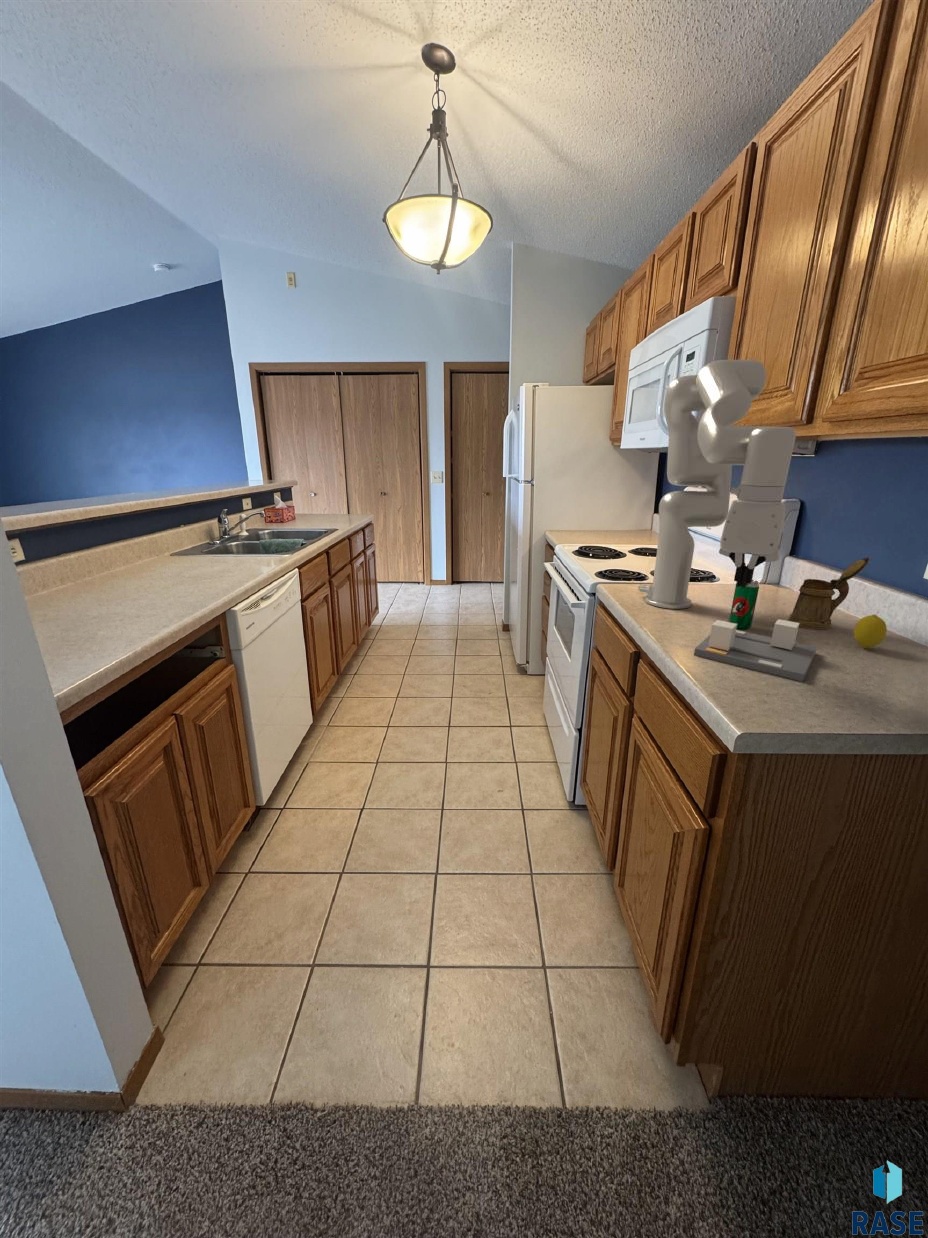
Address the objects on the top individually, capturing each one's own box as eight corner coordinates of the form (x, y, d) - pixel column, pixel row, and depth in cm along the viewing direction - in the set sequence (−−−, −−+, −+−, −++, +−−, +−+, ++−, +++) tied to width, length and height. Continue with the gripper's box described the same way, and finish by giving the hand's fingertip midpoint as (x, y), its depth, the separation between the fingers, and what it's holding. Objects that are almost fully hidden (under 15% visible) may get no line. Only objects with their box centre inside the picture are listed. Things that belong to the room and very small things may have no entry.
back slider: (769, 645, 108) (774, 623, 106) (773, 640, 111) (778, 619, 109) (791, 649, 105) (796, 627, 104) (794, 644, 108) (799, 623, 107)
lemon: (852, 641, 115) (861, 609, 112) (882, 648, 111) (892, 614, 109) (847, 648, 111) (856, 614, 109) (878, 655, 108) (889, 620, 105)
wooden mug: (856, 634, 120) (877, 561, 114) (792, 627, 124) (808, 556, 119) (844, 623, 128) (863, 554, 122) (784, 616, 132) (799, 550, 126)
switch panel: (693, 654, 107) (695, 647, 107) (717, 632, 121) (718, 625, 120) (802, 681, 95) (804, 673, 94) (815, 653, 108) (817, 646, 108)
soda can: (753, 631, 122) (763, 583, 118) (731, 629, 123) (740, 582, 119) (747, 624, 126) (756, 578, 122) (725, 623, 127) (734, 577, 123)
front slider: (708, 646, 107) (712, 624, 106) (713, 641, 110) (717, 620, 108) (728, 650, 105) (732, 628, 103) (733, 645, 108) (737, 623, 106)
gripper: (713, 493, 98) (698, 583, 104) (802, 499, 89) (779, 597, 95) (724, 490, 103) (708, 575, 109) (808, 496, 94) (786, 588, 100)
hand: (741, 585), depth 102 cm, fingers closed
